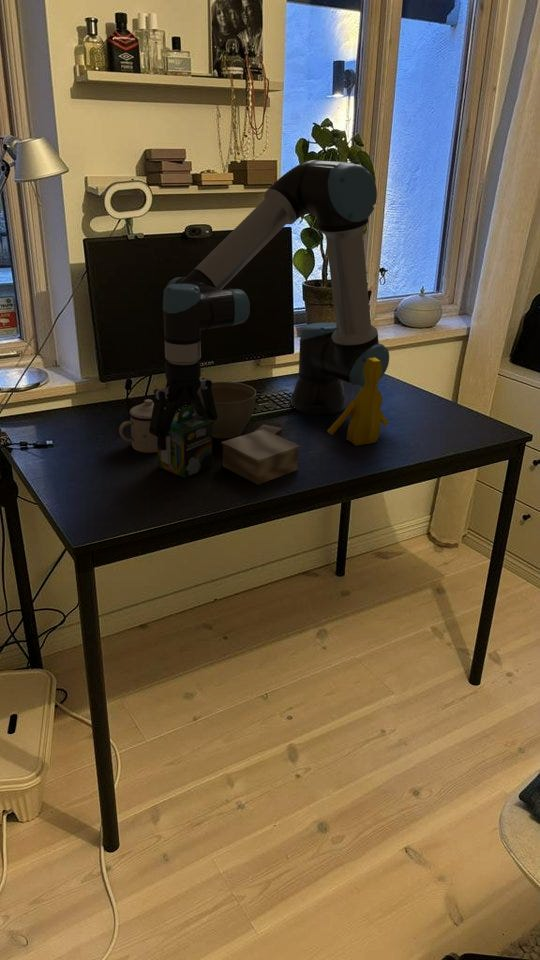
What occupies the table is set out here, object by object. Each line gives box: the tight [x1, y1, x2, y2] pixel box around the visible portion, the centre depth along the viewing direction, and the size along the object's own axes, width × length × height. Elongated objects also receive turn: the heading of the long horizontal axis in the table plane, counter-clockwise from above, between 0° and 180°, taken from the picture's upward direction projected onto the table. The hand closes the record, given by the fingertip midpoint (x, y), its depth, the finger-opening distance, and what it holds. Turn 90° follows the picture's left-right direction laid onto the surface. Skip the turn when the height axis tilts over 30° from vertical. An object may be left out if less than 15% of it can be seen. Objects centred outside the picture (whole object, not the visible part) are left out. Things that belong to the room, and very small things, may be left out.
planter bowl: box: [193, 381, 257, 439], centre depth 182 cm, size 16×16×11 cm
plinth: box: [220, 429, 302, 485], centre depth 164 cm, size 13×13×6 cm
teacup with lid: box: [118, 398, 158, 454], centre depth 172 cm, size 12×9×12 cm
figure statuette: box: [327, 357, 389, 446], centre depth 177 cm, size 18×8×22 cm, turn 116°
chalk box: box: [156, 404, 213, 479], centre depth 162 cm, size 9×9×15 cm
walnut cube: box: [253, 424, 283, 438], centre depth 175 cm, size 5×5×5 cm
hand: (184, 456), depth 164 cm, fingers closed on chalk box, 9 cm apart
